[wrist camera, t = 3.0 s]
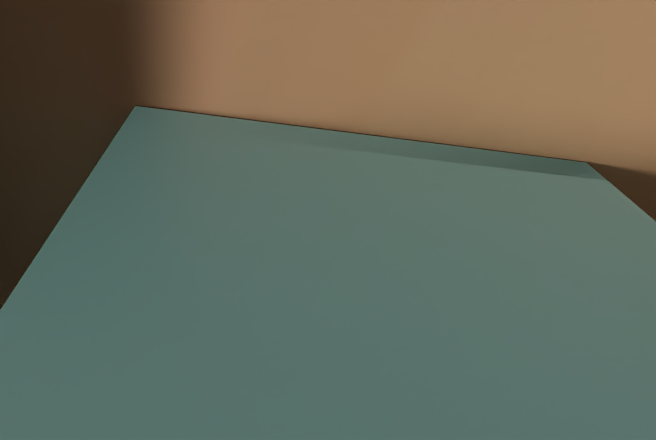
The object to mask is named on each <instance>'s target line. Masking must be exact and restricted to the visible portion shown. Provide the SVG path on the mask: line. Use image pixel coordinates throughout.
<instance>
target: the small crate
mask: <svg viewBox="0 0 656 440" xmlns="http://www.w3.org/2000/svg"><path fill="white" fill-rule="evenodd" d="M0 440H656V221H655V220H653V219H652V218H651V217H650V216H649V215H648V214H646V213H645V212H644V211H643V210H642V209H641V208H639V207H638V206H637V205H636V204H635V203H633V202H632V201H631V200H630V199H629V198H628V197H626V196H625V195H624V194H623V193H622V192H621V191H619V190H618V189H617V188H616V187H615V186H613V185H612V184H611V183H610V182H609V181H608V180H606V179H605V178H604V177H603V176H602V175H601V174H599V173H598V172H597V171H596V170H595V169H593V168H592V167H591V166H590V165H589V164H588V163H586V162H578V161H570V160H562V159H554V158H546V157H538V156H530V155H522V154H514V153H506V152H498V151H490V150H483V149H475V148H467V147H459V146H451V145H443V144H435V143H427V142H419V141H411V140H403V139H395V138H387V137H379V136H371V135H363V134H355V133H347V132H339V131H331V130H323V129H315V128H307V127H299V126H291V125H283V124H275V123H267V122H259V121H251V120H243V119H235V118H227V117H219V116H212V115H204V114H196V113H188V112H180V111H172V110H164V109H156V108H148V107H140V106H135V107H134V109H133V110H132V112H131V113H130V115H129V116H128V118H127V119H126V121H125V122H124V124H123V125H122V127H121V128H120V130H119V131H118V133H117V134H116V136H115V137H114V139H113V140H112V142H111V143H110V145H109V146H108V148H107V149H106V151H105V152H104V154H103V155H102V157H101V158H100V160H99V161H98V163H97V164H96V166H95V167H94V169H93V170H92V172H91V174H90V175H89V177H88V178H87V180H86V181H85V183H84V184H83V186H82V187H81V189H80V190H79V192H78V193H77V195H76V196H75V198H74V199H73V201H72V202H71V204H70V205H69V207H68V208H67V210H66V211H65V213H64V214H63V216H62V217H61V219H60V220H59V222H58V223H57V225H56V226H55V228H54V229H53V231H52V232H51V234H50V235H49V237H48V239H47V240H46V242H45V243H44V245H43V246H42V248H41V249H40V251H39V252H38V254H37V255H36V257H35V258H34V260H33V261H32V263H31V264H30V266H29V267H28V269H27V270H26V272H25V273H24V275H23V276H22V278H21V279H20V281H19V282H18V284H17V285H16V287H15V288H14V290H13V291H12V293H11V294H10V296H9V297H8V299H7V300H6V302H5V304H4V305H3V307H2V308H1V310H0Z"/></svg>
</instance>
